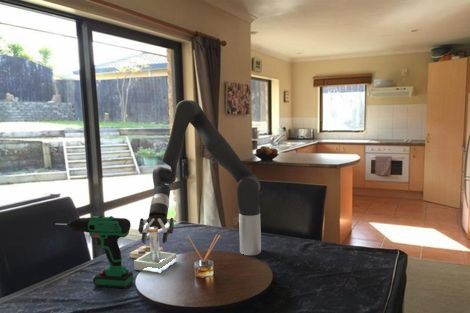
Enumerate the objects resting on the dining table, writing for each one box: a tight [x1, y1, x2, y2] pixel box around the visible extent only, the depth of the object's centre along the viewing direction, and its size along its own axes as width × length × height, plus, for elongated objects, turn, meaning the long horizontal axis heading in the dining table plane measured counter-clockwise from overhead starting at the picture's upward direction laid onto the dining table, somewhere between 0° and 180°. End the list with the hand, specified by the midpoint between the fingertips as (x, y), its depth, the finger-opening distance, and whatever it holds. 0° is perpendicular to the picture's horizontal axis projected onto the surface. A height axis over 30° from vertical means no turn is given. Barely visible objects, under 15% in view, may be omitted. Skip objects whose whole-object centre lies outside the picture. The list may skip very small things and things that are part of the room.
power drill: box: [54, 215, 134, 289], centre depth 132 cm, size 6×29×25 cm, turn 78°
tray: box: [133, 251, 177, 271], centre depth 148 cm, size 12×12×4 cm
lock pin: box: [148, 226, 160, 263], centre depth 147 cm, size 4×4×15 cm
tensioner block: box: [129, 245, 164, 259], centre depth 160 cm, size 10×10×3 cm
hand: (153, 242), depth 145 cm, fingers open, 7 cm apart
